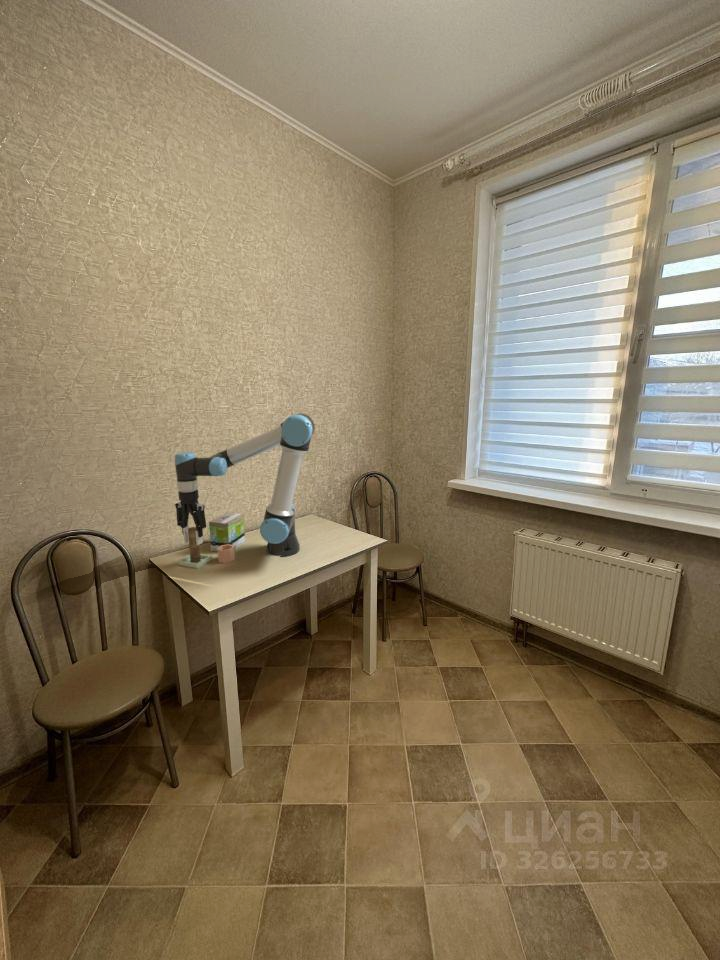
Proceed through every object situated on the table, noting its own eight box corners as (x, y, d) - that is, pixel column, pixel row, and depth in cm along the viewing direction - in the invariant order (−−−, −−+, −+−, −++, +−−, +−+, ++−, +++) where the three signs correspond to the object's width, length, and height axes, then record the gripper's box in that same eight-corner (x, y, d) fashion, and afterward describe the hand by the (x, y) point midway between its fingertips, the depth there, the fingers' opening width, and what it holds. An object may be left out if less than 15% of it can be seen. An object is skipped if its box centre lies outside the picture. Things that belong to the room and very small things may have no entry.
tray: (212, 561, 166) (211, 555, 166) (197, 569, 158) (196, 564, 158) (194, 558, 170) (193, 552, 169) (178, 566, 162) (177, 560, 161)
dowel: (202, 560, 165) (200, 527, 161) (196, 564, 161) (193, 531, 158) (195, 558, 166) (192, 526, 163) (188, 562, 163) (185, 529, 159)
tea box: (230, 553, 174) (227, 523, 171) (210, 552, 176) (207, 521, 173) (246, 541, 189) (244, 513, 185) (227, 540, 191) (225, 512, 187)
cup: (237, 559, 168) (236, 545, 167) (228, 565, 162) (226, 551, 161) (225, 557, 170) (224, 543, 169) (215, 563, 164) (214, 549, 163)
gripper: (213, 489, 157) (217, 542, 162) (177, 486, 163) (183, 537, 168) (199, 494, 150) (205, 549, 155) (163, 490, 157) (169, 543, 162)
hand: (193, 542), depth 162 cm, fingers open, 6 cm apart
